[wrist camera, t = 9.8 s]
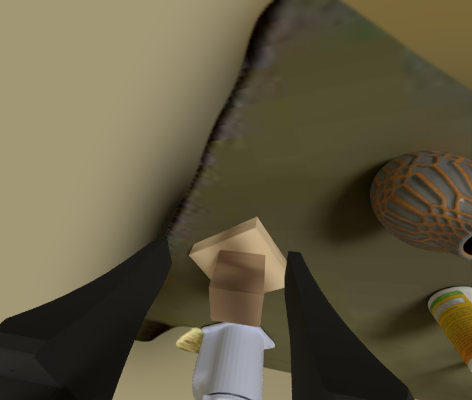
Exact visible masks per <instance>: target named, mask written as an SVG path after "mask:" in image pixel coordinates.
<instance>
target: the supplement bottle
mask: <svg viewBox="0 0 472 400" xmlns="http://www.w3.org/2000/svg"><path fill="white" fill-rule="evenodd" d="M428 308H429V310H430V312H431V314H432V315H433V316H434V318H435V319H436V321H437V322H438V324H439V325H440V327H441V328H442V330H443V331H444V333H445V334H446V336H447V337H448V338H449V340H450V341H451V343H452V344H453V346H454V347H455V349H456V350H457V352H458V353H459V355H460V356H461V358H462V359H463V360H464V362H465V363H466V365H467V366H468V368H469V369H470V371H471V372H472V288H471V287H463V286H461V287H451V288H447V289H444V290H441V291H439V292H437V293H435V294H434V295H433V296H432V297H431V298H430V299H429V301H428Z"/></svg>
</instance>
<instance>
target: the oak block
mask: <svg viewBox="0 0 472 400" xmlns="http://www.w3.org/2000/svg"><path fill="white" fill-rule="evenodd" d="M220 250H227V251H235V252H244V253H252V254H261V255H265V278H264V293H266V292H270V291H273V290H277V289H281V288H284V276H285V270H286V264H287V261H286V259H285V258H284V256H283V255H282V253H281V252H280V250H279V249H278V247H277V246H276V244H275V243H274V241H273V240H272V238H271V237H270V235H269V234H268V232H267V231H266V230H265V228H264V227H263V225H262V224H261V222H260V221H259V219H258V218H257V217H255V218H253V219H251V220H249V221H246V222H244V223H242V224H239V225H237V226H235V227H233V228H230V229H228V230H226V231H223V232H221V233H219V234H216V235H214V236H212V237H210V238H207V239H205V240H203V241H200V242H198V243H196V244H194V246H193V248H192V250H191V252H190V254H189V256H190V257H191V258H192V259H193V260H194V261H195V263H196V264H197V265H198V266H199V267H200V268H201V269H202V271H203V272H204V273H205V274H206V275H207V276H208V277H209V279H210V280H211V278H212V275H213V272H214V269H215V265H216V262H217V259H218V255H219V252H220Z"/></svg>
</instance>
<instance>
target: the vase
mask: <svg viewBox="0 0 472 400" xmlns="http://www.w3.org/2000/svg"><path fill="white" fill-rule="evenodd" d="M370 202H371V206H372V209H373V212H374V214H375V215H376V217H377V219H378V220H379V222H380V223H381V224H382V225H383V227H384V228H385V229H386V230H387V231H389V232H390V233H391V234H392V235H394V236H395V237H397V238H398V239H400V240H401V241H403V242H405V243H407V244H409V245H411V246H414V247H417V248H420V249H424V250H428V251H434V252H442V253H450V254H454V255H457V256H459V257H462V258H464V259H467V260H472V160H469V159H467V158H465V157H462V156H459V155H456V154H452V153H448V152H442V151H418V152H412V153H408V154H405V155H402V156H399V157H397V158H395V159H393V160H392V161H390V162H389V163H387V164H386V165H385V166H384V167H383V168H382V169H381V170H380V171H379V172H378V173H377V174H376V176H375V178H374V179H373V182H372V184H371V189H370Z"/></svg>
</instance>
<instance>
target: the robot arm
mask: <svg viewBox="0 0 472 400" xmlns="http://www.w3.org/2000/svg"><path fill="white" fill-rule="evenodd" d="M171 264H172V262H171V257H170V252H169V246H168V241H167V238H156V239H155V240H153V241H152V242H151V243H149V244H148V245H146V246H145V247H144V248H142V249H141V250H140V251H138V252H137V253H135V254H134V255H133V256H131V257H130V258H128V259H127V260H125V261H124V262H122V263H121V264H119V265H118V266H116V267H115V268H114V269H112V270H111V271H109V272H107V273H106V274H104V275H102V276H101V277H99V278H97V279H95V280H94V281H92V282H90V283H88V284H86V285H84V286H82V287H80V288H78V289H76V290H74V291H72V292H70V293H68V294H66V295H64V296H62V297H60V298H58V299H55V300H53V301H51V302H48V303H46V304H44V305H41V306H39V307H36V308H34V309H31V310H28V311H26V312H23V313H20V314H18V315H15V316H12V317H9V318H7V319H5V320H4V321H3V322H2V323H1V324H0V400H112V398H113V395H114V393H115V390H116V387H117V384H118V381H119V378H120V376H121V373H122V370H123V367H124V365H125V363H126V360H127V357H128V355H129V352H130V350H131V348H132V345H133V343H134V340H135V338H136V336H137V333H138V331H139V329H140V326H141V324H142V322H143V320H144V318H145V316H146V314H147V312H148V310H149V308H150V307H151V305H152V303H153V301H154V299H155V298H156V296H157V294H158V292H159V290H160V288H161V287H162V285H163V283H164V281H165V279H166V277H167V274H168V272H169V269H170V267H171ZM284 288H285V302H286V310H287V318H288V326H289V334H290V346H291V375H292V400H414V398H413V396H412V394H411V392H410V390H409V389H408V387H407V386H406V385H405V384H404V383H402V382H401V381H400V380H399V379H398V378H397V377H396V376H395V375H394V374H393V373H392V372H391V371H389V370H388V369H387V368H386V367H385V366H384V365H383V364H382V363H381V362H380V361H379V360H378V359H377V358H376V357H375V356H374V355H373V354H372V353H371V352H370V351H369V350H368V349H367V348H366V346H365V345H364V344H363V343H362V342H361V341H360V340H359V339H358V338H357V337H356V335H355V334H354V333H353V332H352V331H351V330H350V329H349V327H348V326H347V325H346V324H345V323H344V321H343V320H342V319H341V318H340V316H339V315H338V314H337V312H336V311H335V310H334V308H333V307H332V306H331V304H330V303H329V302H328V300H327V299H326V297H325V296H324V294H323V293H322V291H321V290H320V288H319V286H318V285H317V283H316V281H315V280H314V278H313V276H312V274H311V273H310V271H309V269H308V267H307V265H306V263H305V261H304V259H303V257H302V254H301V253H300V252H292V251H288V258H287V264H286V270H285V276H284ZM201 331H202V332H203V333H204V336H203V340H202V343H201V347H200V351H199V354H198V358H197V362H196V365H195V369H194V374H193V380H192V381H193V383H192V387H193V395H194V398H195V400H262V388H263V387H262V386H263V358H264V349H269V348H274V347H275V344H274V343H273V341H272V340H271V339H270V338H269V337H268V336H267V335H266V333H265V332H264V331H263V330H262V329H261V328H259V327H253V326H247V325H240V324H234V323H227V322H222V323H218V324H214V325H210V326H206V327H203V328H202V329H201Z"/></svg>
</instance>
